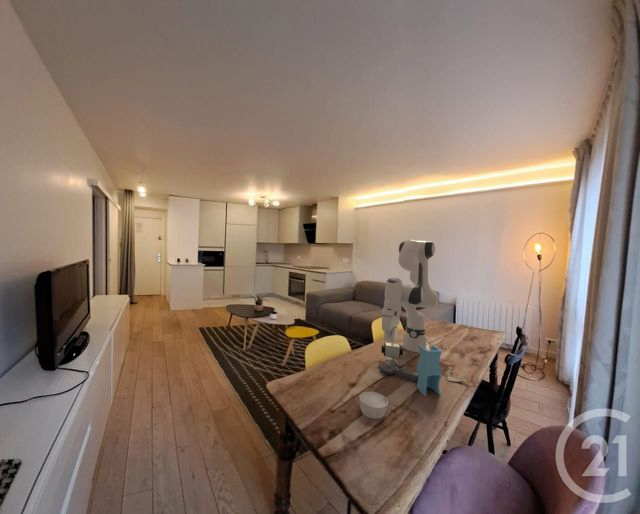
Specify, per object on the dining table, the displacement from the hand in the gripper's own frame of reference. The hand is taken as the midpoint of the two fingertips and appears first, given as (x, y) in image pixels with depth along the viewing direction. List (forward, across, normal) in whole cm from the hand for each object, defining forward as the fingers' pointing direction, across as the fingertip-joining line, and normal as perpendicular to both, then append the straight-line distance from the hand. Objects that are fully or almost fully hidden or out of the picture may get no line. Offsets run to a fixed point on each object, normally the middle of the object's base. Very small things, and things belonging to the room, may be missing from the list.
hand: (390, 335), depth 140 cm
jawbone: (+20, -19, +31) cm, 41 cm away
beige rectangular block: (+2, 0, 0) cm, 2 cm away
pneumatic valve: (+19, -12, -2) cm, 23 cm away
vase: (+20, +7, +20) cm, 29 cm away
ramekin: (+20, +38, +5) cm, 43 cm away
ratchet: (+19, 0, +8) cm, 21 cm away
